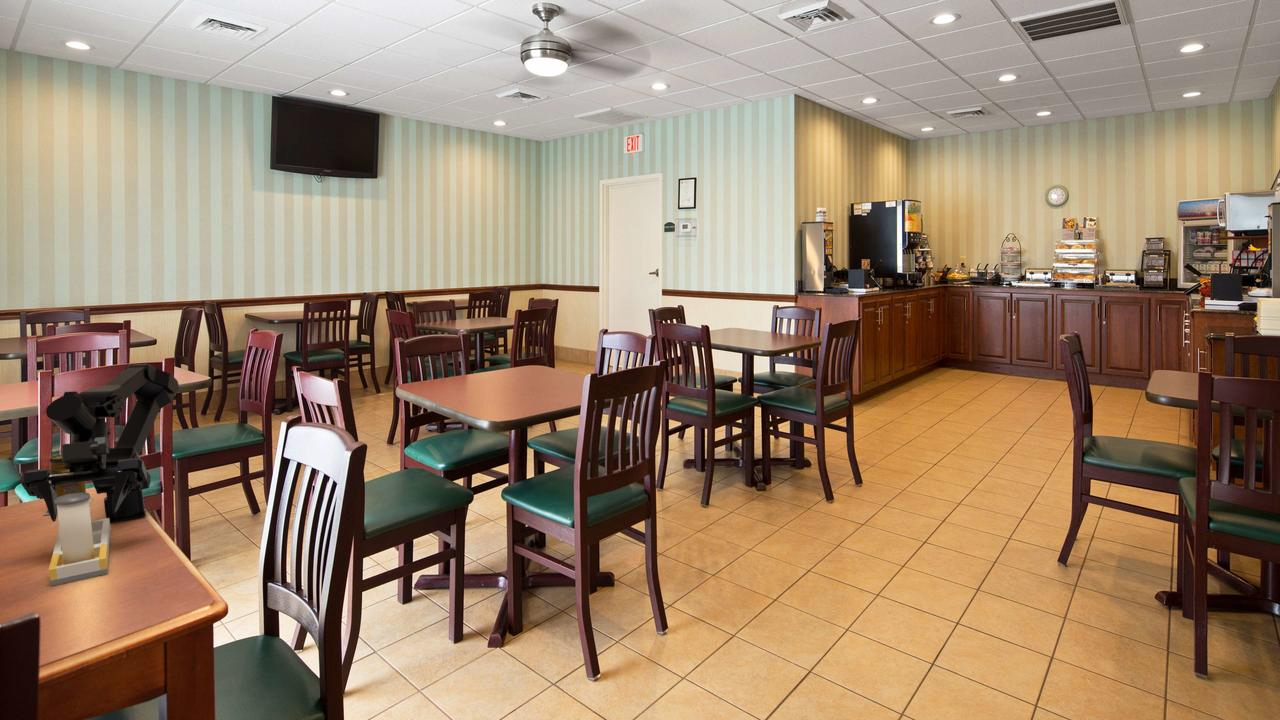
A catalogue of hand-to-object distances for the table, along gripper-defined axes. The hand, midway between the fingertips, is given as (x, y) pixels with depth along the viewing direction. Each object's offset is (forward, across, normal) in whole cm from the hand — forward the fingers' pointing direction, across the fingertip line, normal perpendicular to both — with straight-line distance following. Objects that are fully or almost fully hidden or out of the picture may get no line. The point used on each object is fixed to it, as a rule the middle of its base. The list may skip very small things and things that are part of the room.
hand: (84, 516), depth 133 cm
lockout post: (+10, 0, 0) cm, 10 cm away
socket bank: (+5, -1, +7) cm, 9 cm away
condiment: (-19, -10, +32) cm, 38 cm away
